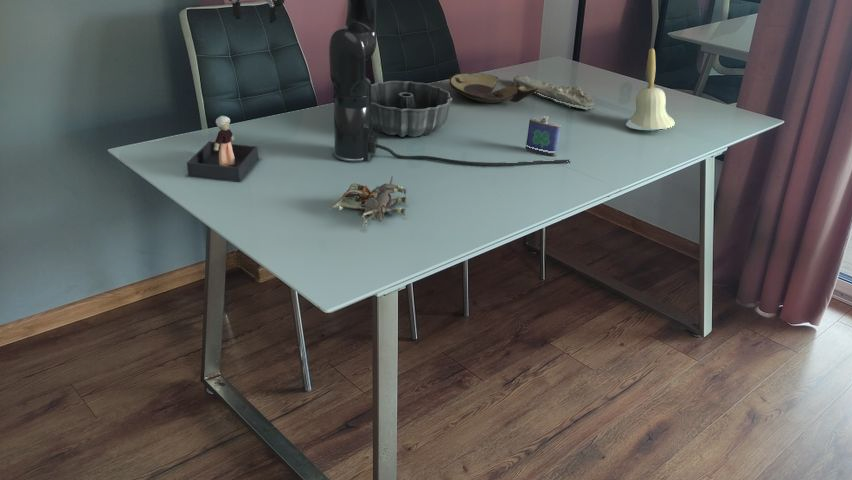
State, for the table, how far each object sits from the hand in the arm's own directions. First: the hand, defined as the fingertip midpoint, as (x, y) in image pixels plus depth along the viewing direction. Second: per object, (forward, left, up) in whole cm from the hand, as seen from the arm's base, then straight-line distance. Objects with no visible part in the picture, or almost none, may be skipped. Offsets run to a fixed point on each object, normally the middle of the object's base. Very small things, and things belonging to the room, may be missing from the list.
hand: (255, 20), depth 190 cm
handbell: (-111, -40, -30) cm, 122 cm away
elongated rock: (-80, -62, -30) cm, 106 cm away
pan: (+2, +24, -30) cm, 38 cm away
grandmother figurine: (+1, +24, -30) cm, 38 cm away
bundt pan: (-36, -17, -30) cm, 50 cm away
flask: (-76, -9, -30) cm, 82 cm away
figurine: (-36, +39, -30) cm, 61 cm away
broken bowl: (-59, -50, -30) cm, 83 cm away
